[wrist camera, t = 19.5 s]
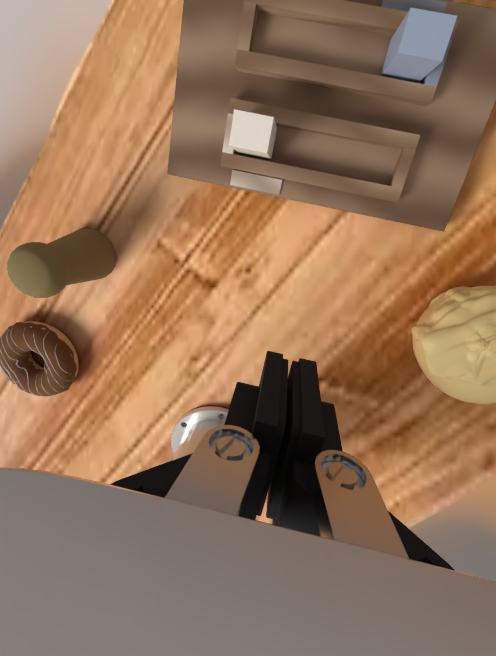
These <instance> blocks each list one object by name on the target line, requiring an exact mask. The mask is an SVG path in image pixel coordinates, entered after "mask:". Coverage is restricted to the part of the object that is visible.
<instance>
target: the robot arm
mask: <svg viewBox="0 0 496 656" xmlns="http://www.w3.org/2000/svg"><path fill="white" fill-rule="evenodd" d="M171 447H172V451H173V454H174V457H173V459H172V461H170V462H167V463H164V464H162V465H159V466H156V467H153V468H151V469H148V470H145V471H143V472H140V473H137V474H134V475H132V476H129V477H126V478H123V479H121V480H118V481H116V482H114V483H112V484H106V483H101V482H97V481H92V480H87V479H82V478H77V477H73V476H68V475H63V474H58V473H54V472H48V471H40V470H32V469H25V468H1V467H0V656H496V581H493V580H489V579H485V578H481V577H478V576H474V575H470V574H466V573H462V572H458V571H455V570H454V569H453V568H452V567H451V566H450V565H449V564H448V563H447V562H446V561H445V560H444V559H442V558H441V557H440V556H439V555H438V554H437V553H435V552H434V551H433V550H432V549H431V548H430V547H429V546H428V545H426V544H425V543H424V542H423V541H422V540H421V539H419V538H418V537H417V536H416V535H415V534H414V533H413V532H412V531H410V530H409V529H408V528H407V527H406V526H405V525H404V524H402V523H401V522H400V521H399V520H398V519H397V518H396V517H395V516H393V515H392V514H391V513H390V512H389V511H388V510H387V508H386V506H385V504H384V501H383V499H382V497H381V495H380V492H379V490H378V488H377V486H376V483H375V481H374V479H373V477H372V475H371V473H370V471H369V470H368V468H367V467H366V466H365V465H364V464H363V463H362V462H361V461H360V460H358V459H357V458H355V457H354V456H352V455H350V454H348V453H345V452H342V446H341V441H340V435H339V430H338V424H337V419H336V413H335V408H334V405H333V404H331V403H326V402H322V401H321V398H320V390H319V382H318V373H317V365H316V362H314V361H310V360H306V359H301V358H300V359H299V361H298V362H296V361H293V362H292V365H291V368H290V372H289V376H288V360H287V359H283V354H279V353H275V352H271V351H267V354H266V359H265V363H264V367H263V371H262V376H261V380H260V384H259V387H258V386H253V385H249V384H245V383H241V382H237V384H236V388H235V391H234V394H233V398H232V401H231V404H230V408H229V409H226V408H222V407H215V406H207V407H200V408H196V409H194V410H191V411H189V412H188V413H186V414H185V415H183V416H182V417H181V419H180V420H179V421H178V422H177V424H176V426H175V428H174V430H173V433H172V437H171ZM268 489H269V490H268ZM267 493H268V501H267V512H266V517H267V518H270V519H273V523H272V524H268V523H264V522H260V521H256V520H255V518H256V515H258V516H261V513H262V510H263V507H264V503H265V500H266V496H267Z"/></svg>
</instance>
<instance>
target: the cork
mask: <svg viewBox="0 0 496 656" xmlns="http://www.w3.org/2000/svg"><path fill="white" fill-rule="evenodd" d="M115 261H116V256H115V250H114V248H113V246H112V243H111V242H110V241H109V239H108V238H107V237H106V236H105V235H104V234H102V233H101V232H99V231H97V230H94V229H91V228H83V229H80V230H77V231H75V232H73V233H71V234H68V235H66V236H64V237H62V238H59V239H57V240H55V241H53V242H51V243H48V244H45V243H40V242H31V243H26V244H23V245H21V246H19V247H17V248H16V249H15V250H14V251H13V252H12V253H11V255H10V257H9V260H8V262H7V271H8V274H9V277H10V279H11V281H12V283H13V284H14V285H15V286H16V287H17V289H18V290H20V291H21V292H23V293H24V294H27V295H29V296H32V297H35V298H47V297H50V296H53V295H56V294H58V293H59V292H60V291H61V290H62V289H63V288H64V287H65V286H66V285H70V284H76V283H81V282H86V281H91V280H97V279H101V278H104V277H106V276H107V275H109V274H110V273H111V272H112V270H113V268H114V266H115Z"/></svg>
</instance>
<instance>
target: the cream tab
mask: <svg viewBox="0 0 496 656" xmlns="http://www.w3.org/2000/svg"><path fill="white" fill-rule="evenodd" d="M276 132H277V126H276V123H275V119H274V117H271V116H266V115H260V114H255V113H250V112H245V111H240V110H235V109H234V114H233V120H232V127H231V134H230V140H229V146H230V147H231V148H233V149H234V150H236V151H237V152H239V153H244V154H249V155H253V156H258V157H263V158H268V159H271V158H272V153H273V147H274V142H275V137H276Z"/></svg>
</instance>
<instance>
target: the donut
mask: <svg viewBox="0 0 496 656" xmlns="http://www.w3.org/2000/svg"><path fill="white" fill-rule="evenodd" d="M31 350H32V351H34V352H36V353H37V354H39V355H41V356H42V357H43V359H44V361H45V365H46V366H47V367H46V368H45V365H44V368H43V367H41V366H40V365H38V364H37V363H36V362H35V361H34V359H33V357H32V355H31ZM0 367H1V369H2V371H3V373H4V374H5V375H6V376H7V377H8V378H9V380H10V379H11V380H12V381H13V382H14V384H16V385H17V387H18V388H19V389H21V390H23V391H25V392H28V393H31V394H34V395H38V396H52V395H56V394H59V393H61V392H64V391H66V390H68V389H69V387H70V385H71V384H72V383H73V382H74V380H75V378H76V376H77V373H78V368H79V362H78V356H77V353H76V350H75V348H74V346H73V345H72V343H71V342H70V340H69V339H68V338H67V337H66V336H65V335H64V334H63V333H62V332H60V331H59V330H58V329H56V328H55V327H53V326H50V325H48V324H45V323H42V322H36V321H28V322H18V323H16V324H14V325H13V326H10V327H9V328H8V329H7V330H6V331H5V332H4V334H3V335H2V337H1V338H0ZM11 380H10V381H11ZM12 381H11V382H12ZM13 382H12V383H13Z"/></svg>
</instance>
